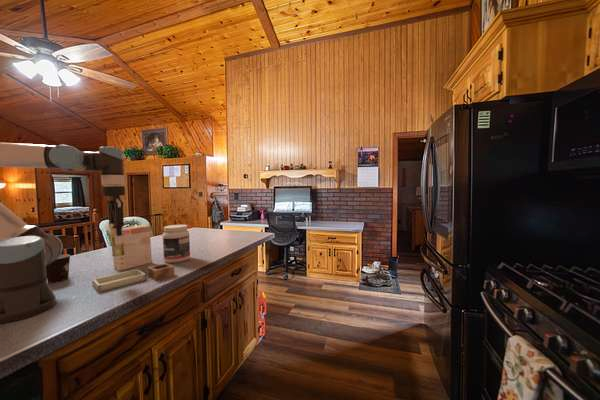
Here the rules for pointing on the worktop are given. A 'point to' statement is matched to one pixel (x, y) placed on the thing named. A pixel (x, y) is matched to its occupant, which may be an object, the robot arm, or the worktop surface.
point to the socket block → (160, 271)
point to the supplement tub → (176, 243)
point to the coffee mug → (58, 269)
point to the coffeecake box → (134, 248)
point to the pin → (116, 248)
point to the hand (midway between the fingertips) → (117, 242)
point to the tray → (118, 280)
